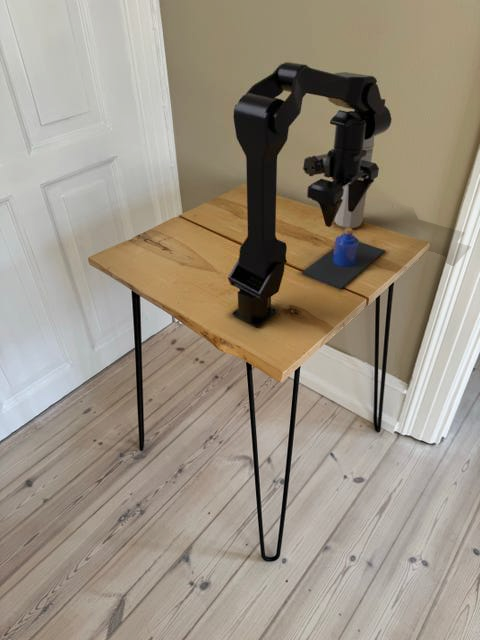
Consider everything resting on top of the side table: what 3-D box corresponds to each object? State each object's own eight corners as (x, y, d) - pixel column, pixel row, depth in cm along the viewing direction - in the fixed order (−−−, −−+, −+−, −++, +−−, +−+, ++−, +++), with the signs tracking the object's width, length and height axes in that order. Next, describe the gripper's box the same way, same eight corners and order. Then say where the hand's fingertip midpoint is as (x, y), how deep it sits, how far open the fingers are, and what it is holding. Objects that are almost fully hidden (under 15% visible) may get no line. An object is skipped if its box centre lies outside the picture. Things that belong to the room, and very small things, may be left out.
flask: (348, 269, 104) (353, 237, 99) (328, 261, 106) (331, 230, 101) (360, 259, 107) (365, 228, 102) (340, 252, 109) (344, 221, 104)
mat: (340, 289, 98) (341, 287, 98) (301, 273, 103) (301, 272, 103) (384, 252, 110) (385, 250, 110) (347, 239, 115) (347, 237, 115)
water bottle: (360, 217, 125) (374, 119, 109) (363, 231, 118) (379, 129, 103) (326, 216, 125) (335, 119, 110) (327, 230, 119) (337, 129, 104)
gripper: (338, 127, 100) (331, 195, 110) (286, 149, 90) (283, 223, 99) (385, 136, 95) (373, 207, 104) (336, 162, 84) (328, 239, 93)
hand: (339, 218), depth 100 cm, fingers open, 9 cm apart
